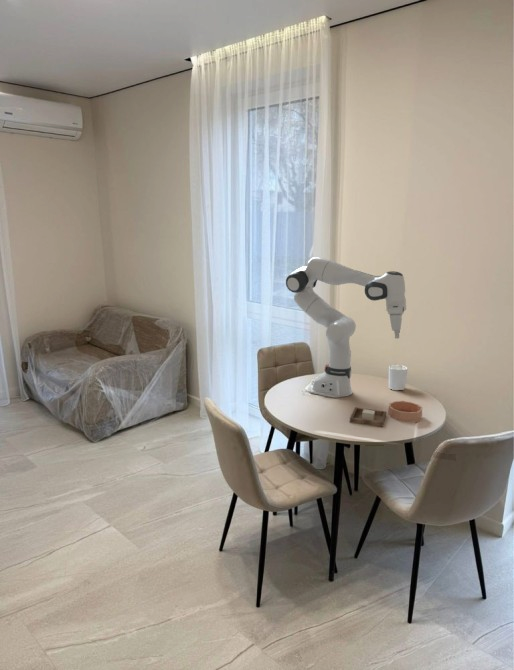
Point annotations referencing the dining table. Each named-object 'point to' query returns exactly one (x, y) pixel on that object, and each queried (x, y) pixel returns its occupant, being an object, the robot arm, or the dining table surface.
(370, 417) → the off-white cube block
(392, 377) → the candle holder
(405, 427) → the dining table surface
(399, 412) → the terracotta bowl
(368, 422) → the walnut tray
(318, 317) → the robot arm
